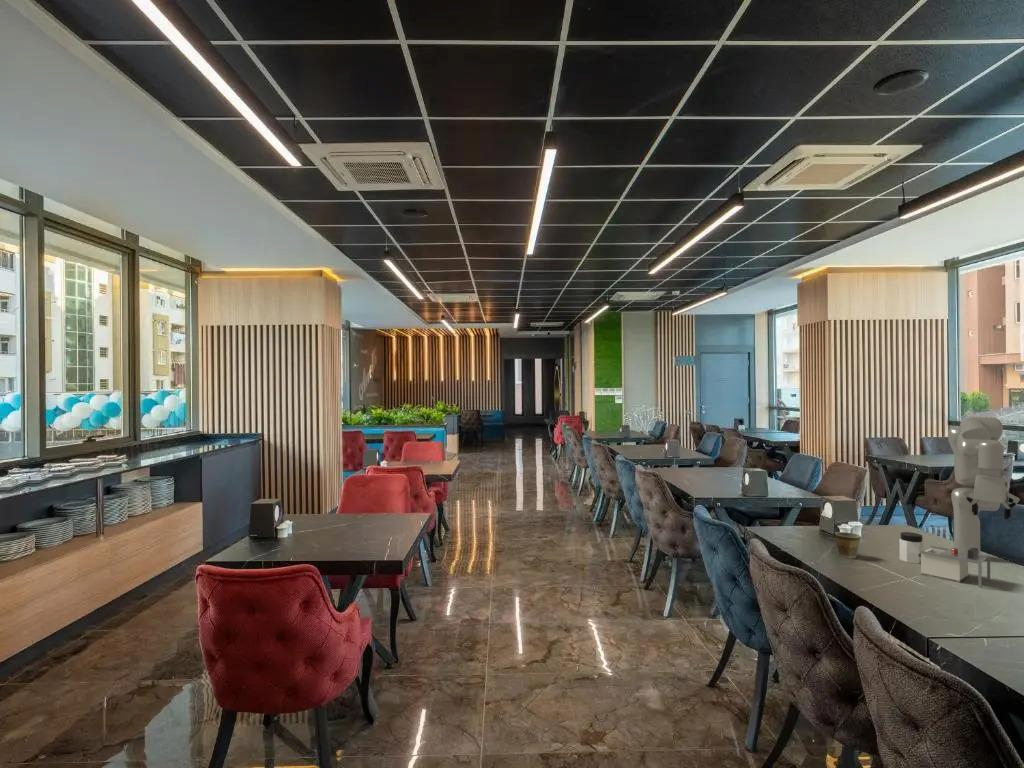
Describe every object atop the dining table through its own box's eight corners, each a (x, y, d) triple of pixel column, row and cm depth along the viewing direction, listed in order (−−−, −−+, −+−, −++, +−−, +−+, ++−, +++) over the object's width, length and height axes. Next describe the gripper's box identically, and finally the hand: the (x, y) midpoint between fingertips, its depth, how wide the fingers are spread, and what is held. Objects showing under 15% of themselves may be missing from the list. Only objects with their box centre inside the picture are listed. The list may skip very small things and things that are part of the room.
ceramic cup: (864, 559, 264) (864, 537, 264) (842, 559, 264) (842, 537, 264) (849, 551, 277) (848, 530, 277) (827, 551, 277) (827, 530, 277)
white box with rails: (925, 567, 252) (925, 544, 252) (990, 580, 235) (990, 555, 235) (914, 573, 244) (914, 549, 244) (981, 587, 226) (980, 562, 227)
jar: (917, 564, 257) (917, 537, 257) (896, 560, 263) (896, 533, 264) (926, 561, 261) (926, 534, 262) (906, 557, 268) (905, 531, 268)
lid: (948, 551, 245) (948, 542, 245) (987, 558, 235) (987, 548, 235) (940, 556, 238) (940, 546, 238) (980, 563, 228) (980, 553, 228)
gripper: (1021, 474, 225) (1022, 519, 224) (966, 470, 239) (967, 512, 238) (1016, 476, 220) (1016, 521, 220) (960, 471, 234) (961, 514, 234)
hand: (991, 516), depth 229 cm, fingers open, 9 cm apart
